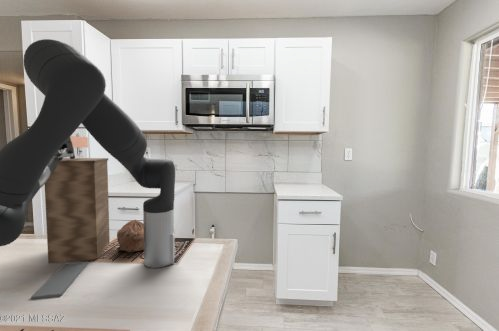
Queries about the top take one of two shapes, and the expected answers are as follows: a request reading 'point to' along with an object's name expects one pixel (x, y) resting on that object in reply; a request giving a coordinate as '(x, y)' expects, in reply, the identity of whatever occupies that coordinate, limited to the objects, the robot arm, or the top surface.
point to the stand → (77, 210)
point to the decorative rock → (131, 236)
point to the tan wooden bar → (79, 141)
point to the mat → (60, 281)
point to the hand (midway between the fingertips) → (59, 136)
